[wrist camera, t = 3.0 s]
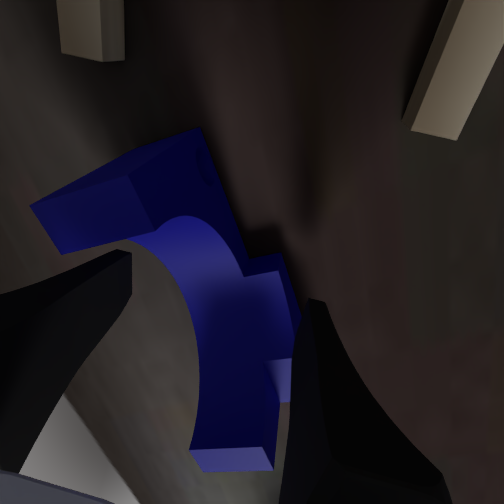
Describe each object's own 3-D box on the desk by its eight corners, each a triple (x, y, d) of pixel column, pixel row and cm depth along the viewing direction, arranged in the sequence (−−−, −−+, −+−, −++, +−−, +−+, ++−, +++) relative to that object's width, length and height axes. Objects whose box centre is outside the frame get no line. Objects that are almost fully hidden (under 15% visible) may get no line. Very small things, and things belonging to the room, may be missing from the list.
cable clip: (312, 350, 18) (312, 469, 13) (232, 359, 19) (203, 472, 14) (236, 114, 13) (184, 157, 8) (133, 149, 14) (29, 205, 9)
